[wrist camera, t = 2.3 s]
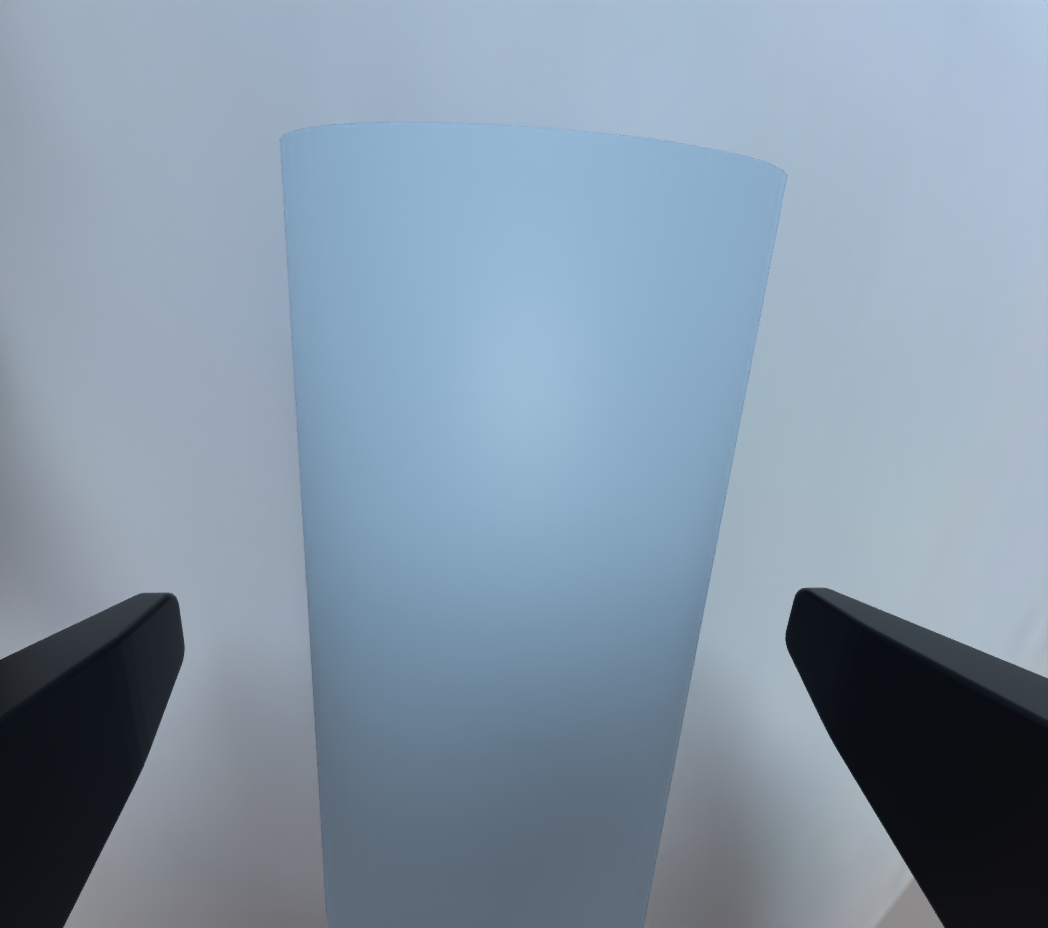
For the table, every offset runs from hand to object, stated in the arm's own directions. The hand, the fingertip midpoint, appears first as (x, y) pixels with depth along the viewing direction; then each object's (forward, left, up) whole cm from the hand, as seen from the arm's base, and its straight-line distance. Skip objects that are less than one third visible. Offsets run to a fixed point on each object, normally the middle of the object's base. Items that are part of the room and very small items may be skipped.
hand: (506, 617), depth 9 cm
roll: (0, 0, -1) cm, 1 cm away
